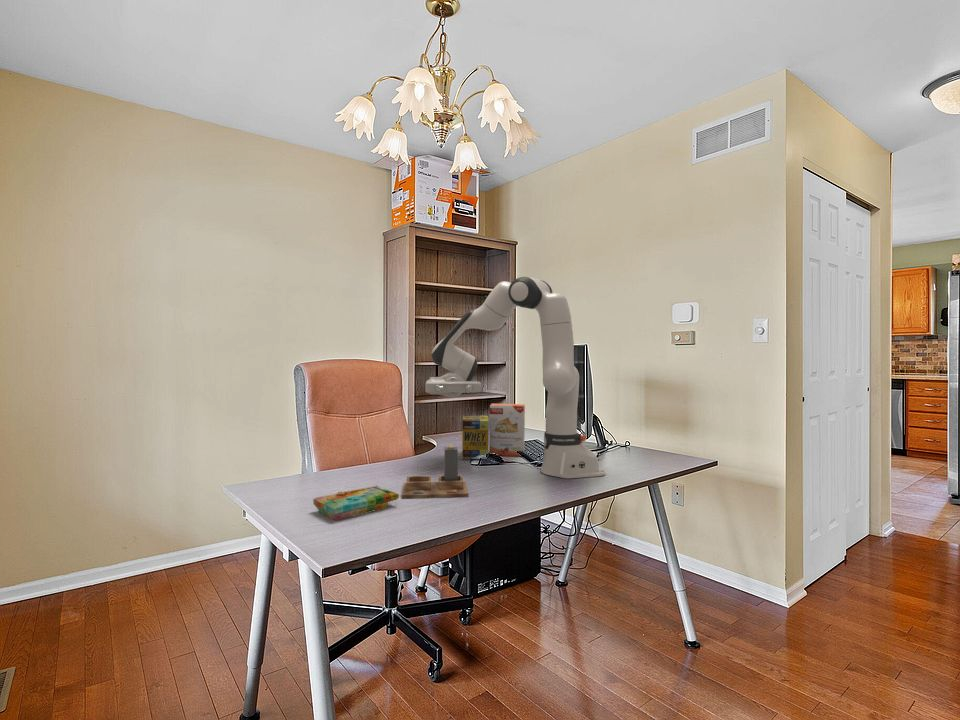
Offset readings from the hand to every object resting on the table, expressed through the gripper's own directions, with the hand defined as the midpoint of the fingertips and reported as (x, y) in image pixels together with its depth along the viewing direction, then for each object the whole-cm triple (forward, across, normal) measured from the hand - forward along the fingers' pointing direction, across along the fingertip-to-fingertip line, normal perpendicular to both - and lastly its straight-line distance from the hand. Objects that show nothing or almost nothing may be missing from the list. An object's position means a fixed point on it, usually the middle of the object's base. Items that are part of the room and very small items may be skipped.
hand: (454, 388), depth 188 cm
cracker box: (-29, -23, -30) cm, 48 cm away
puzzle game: (+37, +29, -31) cm, 56 cm away
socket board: (+21, +7, -30) cm, 37 cm away
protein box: (-29, -10, -30) cm, 43 cm away
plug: (+20, +2, -29) cm, 35 cm away
